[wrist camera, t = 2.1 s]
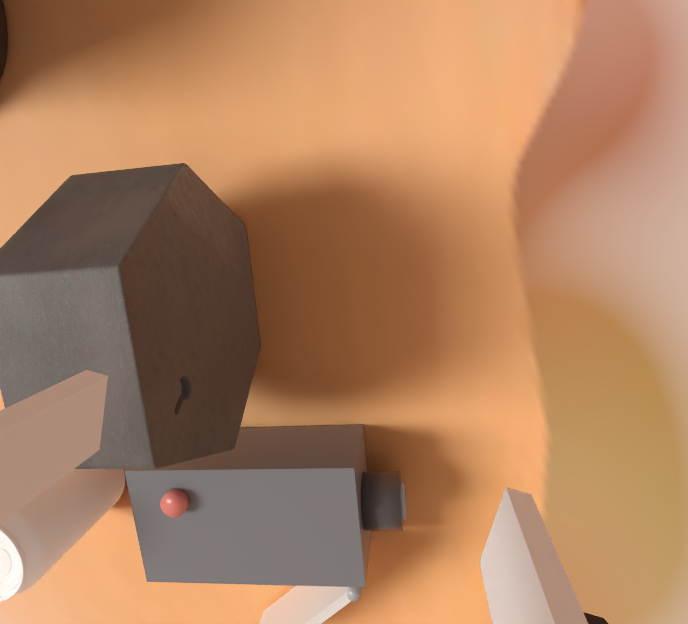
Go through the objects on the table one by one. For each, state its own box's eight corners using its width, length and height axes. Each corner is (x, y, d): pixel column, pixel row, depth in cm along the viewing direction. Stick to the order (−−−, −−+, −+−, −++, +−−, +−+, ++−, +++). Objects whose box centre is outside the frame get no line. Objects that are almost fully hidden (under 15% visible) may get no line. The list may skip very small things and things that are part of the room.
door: (277, 619, 45) (255, 687, 38) (264, 607, 45) (240, 673, 38) (375, 543, 42) (370, 603, 35) (361, 530, 41) (353, 588, 35)
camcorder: (186, 525, 44) (141, 589, 37) (169, 429, 42) (117, 476, 35) (408, 527, 41) (409, 598, 33) (401, 423, 39) (400, 473, 32)
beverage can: (120, 518, 45) (20, 624, 33) (46, 488, 46) (-78, 583, 34) (137, 449, 43) (38, 536, 32) (59, 419, 44) (-67, 493, 32)
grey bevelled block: (107, 136, 32) (-119, 369, 18) (210, 123, 31) (57, 361, 17) (195, 305, 44) (102, 528, 30) (272, 301, 43) (214, 530, 29)
